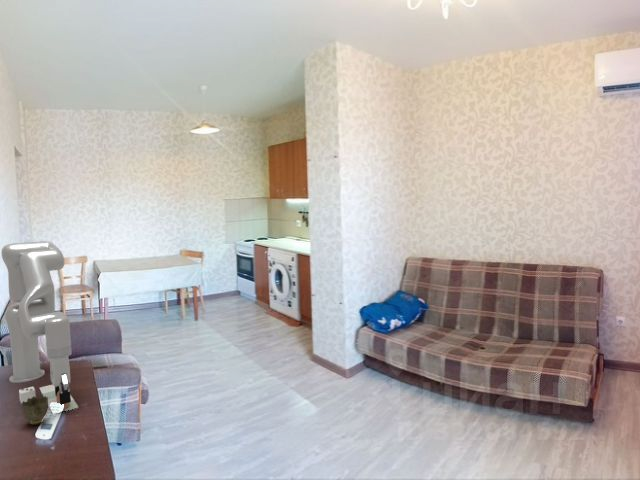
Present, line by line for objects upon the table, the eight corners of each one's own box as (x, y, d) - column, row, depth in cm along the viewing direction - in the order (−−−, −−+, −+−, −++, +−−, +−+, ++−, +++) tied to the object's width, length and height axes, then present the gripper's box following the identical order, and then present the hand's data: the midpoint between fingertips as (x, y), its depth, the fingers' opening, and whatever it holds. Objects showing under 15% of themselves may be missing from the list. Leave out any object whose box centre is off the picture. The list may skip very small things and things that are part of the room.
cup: (37, 429, 142) (34, 406, 141) (17, 428, 143) (15, 404, 142) (55, 418, 149) (53, 395, 148) (36, 417, 150) (34, 394, 150)
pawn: (56, 406, 157) (54, 389, 157) (69, 403, 160) (67, 386, 159) (58, 410, 154) (56, 392, 153) (71, 407, 157) (69, 389, 156)
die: (19, 401, 163) (18, 388, 163) (34, 397, 166) (33, 385, 166) (21, 405, 160) (20, 392, 159) (36, 401, 163) (35, 389, 162)
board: (39, 388, 174) (39, 387, 174) (62, 382, 179) (62, 382, 179) (52, 415, 151) (52, 414, 151) (78, 407, 156) (78, 407, 156)
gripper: (42, 348, 159) (46, 394, 161) (51, 360, 146) (55, 411, 147) (66, 343, 164) (69, 388, 166) (76, 355, 151) (80, 403, 152)
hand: (63, 398), depth 157 cm, fingers open, 8 cm apart
